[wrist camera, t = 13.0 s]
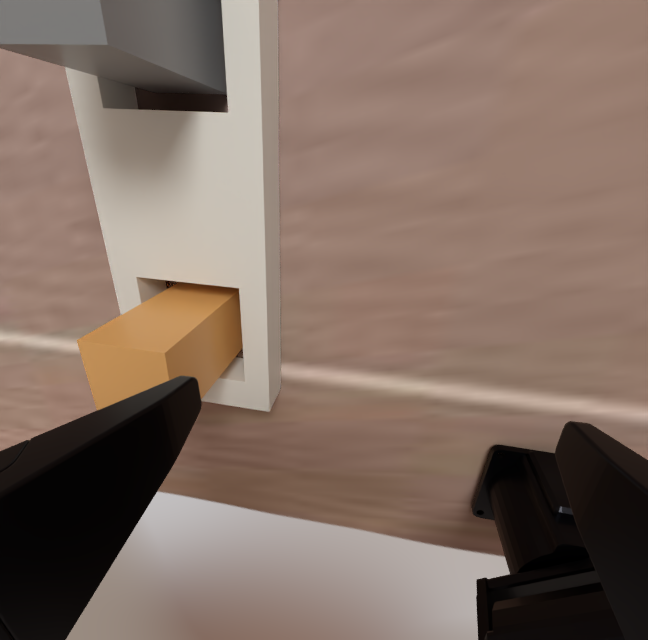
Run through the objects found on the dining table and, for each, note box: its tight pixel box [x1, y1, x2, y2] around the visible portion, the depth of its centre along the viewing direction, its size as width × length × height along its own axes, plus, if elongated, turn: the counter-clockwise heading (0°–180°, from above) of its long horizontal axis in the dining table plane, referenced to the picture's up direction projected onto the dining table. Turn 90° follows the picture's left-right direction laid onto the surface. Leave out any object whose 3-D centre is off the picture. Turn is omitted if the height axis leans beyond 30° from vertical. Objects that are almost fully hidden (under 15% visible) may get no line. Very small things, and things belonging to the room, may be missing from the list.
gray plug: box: [0, 0, 227, 95], centre depth 13 cm, size 4×4×8 cm
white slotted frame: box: [65, 0, 281, 412], centre depth 18 cm, size 24×9×2 cm, turn 177°
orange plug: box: [77, 282, 243, 410], centre depth 19 cm, size 4×4×8 cm
